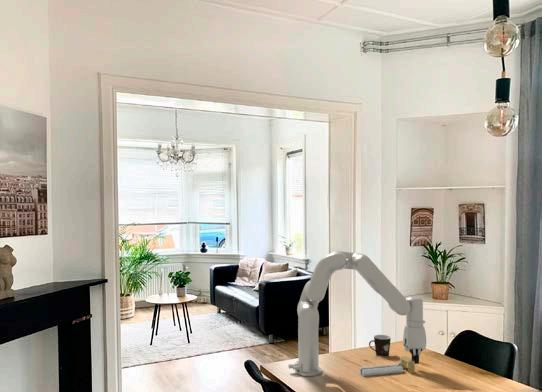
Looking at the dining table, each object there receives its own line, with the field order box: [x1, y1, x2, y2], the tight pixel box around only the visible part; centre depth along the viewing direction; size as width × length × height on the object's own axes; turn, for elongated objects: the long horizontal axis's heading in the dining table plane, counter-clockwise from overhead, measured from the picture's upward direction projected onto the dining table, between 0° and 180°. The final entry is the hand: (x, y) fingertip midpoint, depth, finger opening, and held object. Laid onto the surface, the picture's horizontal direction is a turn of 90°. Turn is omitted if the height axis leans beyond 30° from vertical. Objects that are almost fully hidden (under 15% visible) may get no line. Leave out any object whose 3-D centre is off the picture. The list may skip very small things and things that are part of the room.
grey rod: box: [358, 362, 402, 375], centre depth 195 cm, size 21×2×3 cm, turn 104°
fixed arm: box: [361, 366, 404, 377], centre depth 193 cm, size 20×1×2 cm, turn 105°
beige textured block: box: [399, 355, 416, 374], centre depth 197 cm, size 3×7×5 cm, turn 15°
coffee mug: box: [368, 334, 392, 357], centre depth 221 cm, size 12×9×10 cm
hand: (415, 362), depth 198 cm, fingers closed
